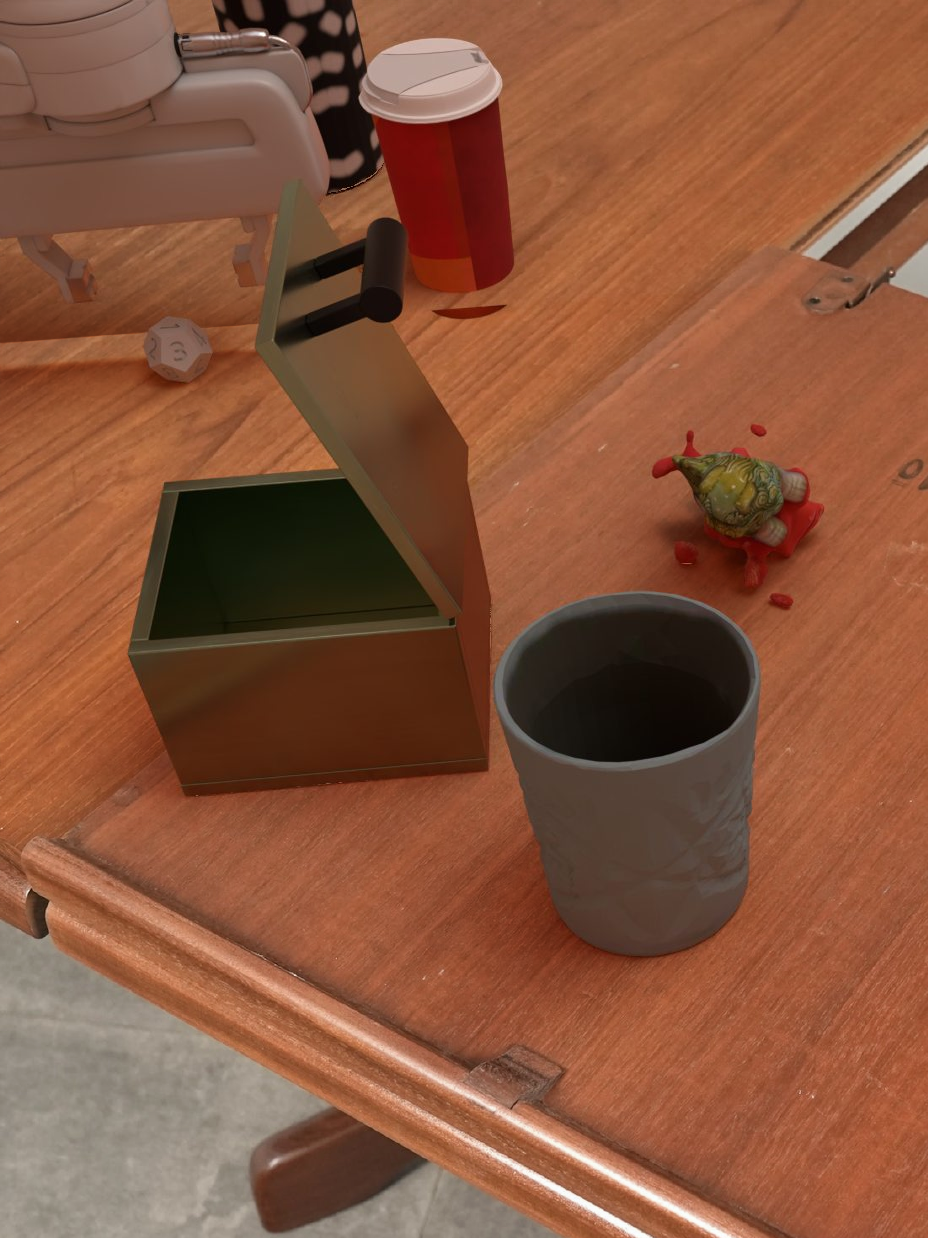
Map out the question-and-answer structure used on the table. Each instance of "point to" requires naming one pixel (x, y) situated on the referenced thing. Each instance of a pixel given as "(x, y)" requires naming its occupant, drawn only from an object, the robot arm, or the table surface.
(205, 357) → the game die
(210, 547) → the bin
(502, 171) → the paper cup
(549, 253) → the table surface
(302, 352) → the lid
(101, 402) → the table surface
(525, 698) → the grey cup
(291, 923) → the table surface
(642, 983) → the table surface
